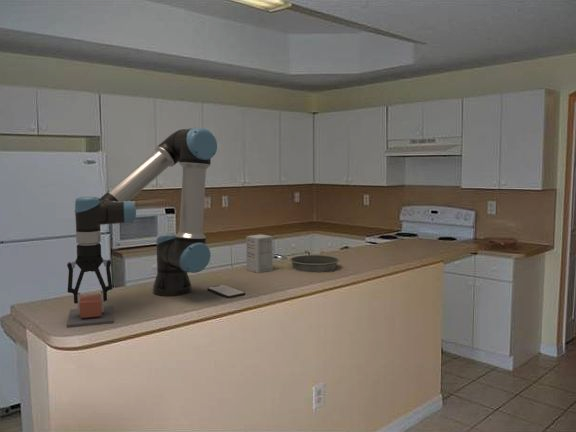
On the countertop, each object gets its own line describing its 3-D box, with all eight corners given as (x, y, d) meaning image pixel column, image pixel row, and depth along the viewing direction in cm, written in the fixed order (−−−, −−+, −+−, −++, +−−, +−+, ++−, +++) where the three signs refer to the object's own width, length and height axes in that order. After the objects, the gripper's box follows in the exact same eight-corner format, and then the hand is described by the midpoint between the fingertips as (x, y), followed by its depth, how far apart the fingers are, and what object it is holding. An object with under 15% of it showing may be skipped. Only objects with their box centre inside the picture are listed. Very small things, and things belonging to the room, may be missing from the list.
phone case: (246, 296, 200) (224, 288, 212) (246, 292, 200) (224, 284, 212) (227, 300, 194) (205, 291, 206) (227, 296, 194) (205, 287, 206)
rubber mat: (112, 307, 180) (112, 305, 180) (113, 322, 164) (113, 320, 164) (70, 311, 176) (70, 309, 176) (66, 327, 159) (66, 325, 159)
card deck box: (101, 316, 166) (101, 301, 165) (80, 318, 164) (79, 303, 163) (101, 307, 175) (100, 293, 175) (81, 309, 173) (80, 295, 172)
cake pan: (316, 261, 270) (316, 253, 270) (349, 269, 251) (349, 260, 251) (279, 267, 255) (279, 258, 255) (312, 275, 236) (312, 266, 236)
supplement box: (261, 267, 252) (261, 234, 250) (273, 270, 245) (273, 236, 244) (245, 270, 246) (245, 235, 244) (257, 273, 239) (257, 238, 237)
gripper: (119, 240, 174) (121, 305, 176) (57, 243, 167) (60, 311, 170) (120, 243, 167) (122, 311, 169) (55, 246, 160) (58, 317, 163)
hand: (91, 311), depth 169 cm, fingers closed on card deck box, 6 cm apart
